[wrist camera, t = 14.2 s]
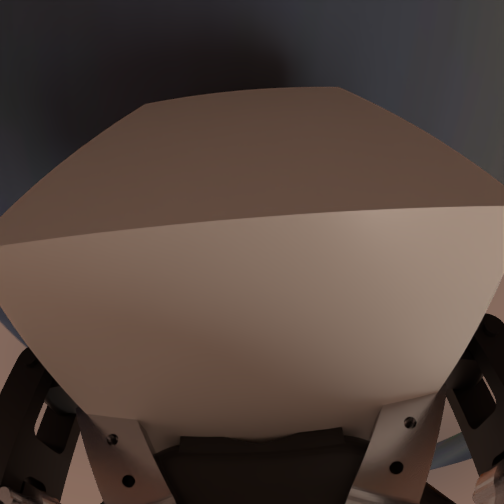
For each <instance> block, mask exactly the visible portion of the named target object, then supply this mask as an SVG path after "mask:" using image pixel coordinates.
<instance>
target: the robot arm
mask: <svg viewBox="0 0 504 504" xmlns="http://www.w3.org/2000/svg"><path fill="white" fill-rule="evenodd" d="M483 376H484V377H485V379H486V381H487V382H488V384H489V386H490V388H491V390H492V392H493V394H494V396H495V399H496V403H495V402H494V399H493V397H492V396H491V393H490V391H489V389H488V387H487V385H486V384H485V382H484V380H483V378H482V377H483ZM446 397H447V399H448V401H449V403H450V405H451V408H452V410H453V412H454V415H455V417H456V419H457V422H458V424H459V426H460V429H461V431H462V433H463V436H464V438H465V441H466V443H467V446H468V448H469V451H470V453H471V456H472V458H473V461H474V463H475V466H476V469H477V472H478V474H479V478H478V480H477V483H476V485H475V491H474V493H473V497H472V498H473V501H474V502H475V503H476V504H504V323H503V322H502V321H501V320H500V319H499V318H497V317H495V316H493V315H490V314H486V313H485V315H484V317H483V319H482V321H481V322H480V324H479V326H478V328H477V330H476V332H475V333H474V335H473V337H472V339H471V341H470V342H469V344H468V346H467V348H466V349H465V351H464V353H463V354H462V356H461V358H460V359H459V361H458V362H457V364H456V366H455V367H454V369H453V370H452V372H451V373H450V375H449V376H448V378H447V380H446V381H445V383H444V384H443V385H442V387H441V388H440V390H439V391H438V392H436V393H432V394H428V395H425V396H421V397H417V398H413V399H409V400H404V401H400V402H395V403H391V404H386V405H383V406H382V408H381V409H380V411H379V413H378V415H377V417H376V419H375V422H374V425H373V428H372V431H371V434H370V436H369V439H368V440H365V439H362V438H359V437H354V436H348V435H343V430H342V427H337V428H330V429H323V430H315V431H307V432H298V433H295V434H292V435H289V436H286V437H283V438H280V439H277V440H273V441H270V442H267V443H262V444H258V443H252V442H247V441H241V440H237V439H232V438H227V437H195V436H180V445H176V446H172V447H169V448H166V449H164V450H162V451H159V452H158V453H156V451H155V449H154V447H153V445H152V443H151V441H150V438H149V436H148V433H147V431H146V430H145V429H144V427H143V426H142V425H141V424H140V423H139V422H138V420H136V419H125V418H115V417H107V416H99V415H92V414H86V413H85V412H84V411H83V410H82V409H81V408H80V407H79V406H78V405H77V404H76V403H75V402H74V400H73V399H72V398H71V397H70V396H69V395H68V394H67V393H66V392H65V391H64V389H63V388H62V387H61V386H60V385H59V384H58V383H57V381H56V380H55V379H54V378H53V377H52V376H51V374H50V373H49V372H48V371H47V370H46V368H45V367H44V366H43V365H42V363H41V362H40V361H39V360H38V358H37V357H36V356H35V355H34V353H33V352H32V351H31V349H30V348H29V347H28V348H26V349H25V350H24V351H23V352H22V353H21V354H20V356H19V357H18V359H17V361H16V363H15V365H14V367H13V369H12V371H11V373H10V374H9V377H8V379H7V381H6V383H5V385H4V387H3V389H2V391H1V393H0V504H61V503H60V500H61V496H62V492H63V488H64V484H65V481H66V477H67V473H68V470H69V466H70V463H71V460H72V456H73V453H74V450H75V446H76V443H77V440H78V436H79V434H80V432H81V435H82V439H83V442H84V446H85V449H86V453H87V456H88V459H89V462H90V465H91V468H92V471H93V474H94V477H95V480H96V483H97V485H98V488H99V491H100V494H101V496H102V499H103V502H102V503H101V504H456V503H454V502H453V501H452V500H450V499H449V498H448V497H446V496H445V495H443V494H442V493H441V492H439V491H438V490H437V489H435V488H434V487H432V486H431V485H430V484H428V483H427V482H426V481H427V477H428V474H429V471H430V467H431V463H432V460H433V456H434V452H435V448H436V444H437V439H438V435H439V430H440V425H441V420H442V415H443V410H444V405H445V399H446ZM44 402H45V403H46V404H47V405H48V406H47V409H46V411H45V413H44V416H43V419H42V421H41V424H40V427H39V429H38V432H37V435H35V432H34V427H35V423H36V420H37V418H38V415H39V413H40V410H41V408H42V405H43V403H44Z"/></svg>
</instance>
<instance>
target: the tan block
mask: <svg viewBox="0 0 504 504" xmlns="http://www.w3.org/2000/svg"><path fill="white" fill-rule="evenodd" d="M503 274H504V185H503V184H501V183H500V182H499V181H497V180H496V179H495V178H493V177H492V176H491V175H489V174H488V173H487V172H485V171H484V170H483V169H481V168H480V167H479V166H477V165H476V164H474V163H473V162H471V161H470V160H469V159H467V158H466V157H464V156H463V155H461V154H460V153H458V152H457V151H455V150H454V149H452V148H451V147H449V146H448V145H446V144H445V143H443V142H441V141H440V140H438V139H437V138H435V137H433V136H432V135H430V134H428V133H427V132H425V131H423V130H422V129H420V128H418V127H417V126H415V125H413V124H411V123H410V122H408V121H406V120H404V119H402V118H401V117H399V116H397V115H395V114H393V113H391V112H389V111H387V110H386V109H384V108H382V107H380V106H378V105H376V104H374V103H372V102H370V101H368V100H366V99H364V98H362V97H359V96H357V95H355V94H353V93H351V92H349V91H347V90H344V89H342V88H340V87H288V88H267V89H252V90H240V91H230V92H220V93H212V94H204V95H196V96H189V97H182V98H176V99H170V100H164V101H158V102H153V103H148V104H144V105H143V106H141V107H139V108H138V109H136V110H135V111H133V112H132V113H130V114H128V115H127V116H125V117H124V118H122V119H121V120H119V121H118V122H116V123H115V124H113V125H112V126H110V127H109V128H107V129H106V130H105V131H103V132H102V133H100V134H99V135H97V136H96V137H95V138H93V139H92V140H90V141H89V142H88V143H86V144H85V145H84V146H82V147H81V148H80V149H78V150H77V151H76V152H74V153H73V154H72V155H71V156H69V157H68V158H67V159H65V160H64V161H63V162H62V163H60V164H59V165H58V166H57V167H55V168H54V169H53V170H52V171H51V172H49V173H48V174H47V175H46V176H45V177H43V178H42V179H41V180H40V181H39V182H38V183H36V184H35V185H34V186H33V187H32V188H31V189H30V190H29V191H27V192H26V193H25V194H24V195H23V196H22V197H21V198H20V199H19V200H18V201H17V202H15V203H14V204H13V205H12V206H11V207H10V208H9V209H8V210H7V211H6V212H5V213H4V214H3V215H2V216H1V217H0V306H1V308H2V309H3V311H4V312H5V314H6V316H7V317H8V319H9V320H10V321H11V323H12V324H13V326H14V327H15V329H16V330H17V332H18V333H19V334H20V336H21V337H22V339H23V340H24V341H25V343H26V344H27V345H28V347H29V348H30V349H31V351H32V352H33V353H34V355H35V356H36V357H37V358H38V360H39V361H40V362H41V363H42V365H43V366H44V367H45V368H46V370H47V371H48V372H49V373H50V374H51V376H52V377H53V378H54V379H55V380H56V381H57V383H58V384H59V385H60V386H61V387H62V388H63V389H64V391H65V392H66V393H67V394H68V395H69V396H70V397H71V398H72V399H73V400H74V402H75V403H76V404H77V405H78V406H79V407H80V408H81V409H82V410H83V411H84V412H85V413H86V414H92V415H99V416H107V417H115V418H125V419H136V420H138V422H139V423H140V424H141V425H142V426H143V427H144V429H145V430H146V431H147V433H148V436H149V438H150V441H151V443H152V445H153V447H154V449H155V451H156V453H158V452H159V451H162V450H164V449H166V448H169V447H172V446H176V445H180V436H195V437H227V438H232V439H237V440H241V441H247V442H252V443H258V444H262V443H267V442H270V441H273V440H277V439H280V438H283V437H286V436H289V435H292V434H295V433H298V432H307V431H315V430H323V429H330V428H337V427H342V430H343V435H348V436H354V437H359V438H362V439H365V440H368V439H369V436H370V434H371V431H372V428H373V425H374V422H375V419H376V417H377V415H378V413H379V411H380V409H381V408H382V406H383V405H386V404H391V403H395V402H400V401H404V400H409V399H413V398H417V397H421V396H425V395H428V394H432V393H436V392H438V391H439V390H440V388H441V387H442V385H443V384H444V383H445V381H446V380H447V378H448V376H449V375H450V373H451V372H452V370H453V369H454V367H455V366H456V364H457V362H458V361H459V359H460V358H461V356H462V354H463V353H464V351H465V349H466V348H467V346H468V344H469V342H470V341H471V339H472V337H473V335H474V333H475V332H476V330H477V328H478V326H479V324H480V322H481V321H482V319H483V317H484V315H485V313H486V311H487V309H488V307H489V305H490V303H491V301H492V299H493V296H494V294H495V292H496V290H497V288H498V286H499V283H500V281H501V279H502V276H503Z"/></svg>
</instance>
